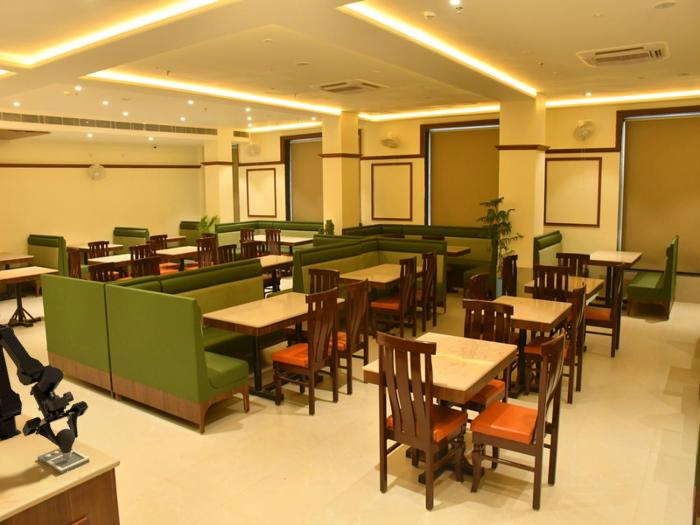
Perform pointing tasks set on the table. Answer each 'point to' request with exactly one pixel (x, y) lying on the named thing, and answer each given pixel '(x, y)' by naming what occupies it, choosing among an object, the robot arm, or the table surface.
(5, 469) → the table surface
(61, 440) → the light bulb
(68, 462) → the indicator board
